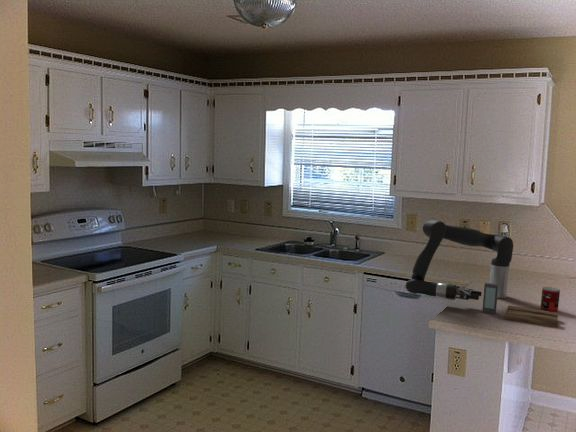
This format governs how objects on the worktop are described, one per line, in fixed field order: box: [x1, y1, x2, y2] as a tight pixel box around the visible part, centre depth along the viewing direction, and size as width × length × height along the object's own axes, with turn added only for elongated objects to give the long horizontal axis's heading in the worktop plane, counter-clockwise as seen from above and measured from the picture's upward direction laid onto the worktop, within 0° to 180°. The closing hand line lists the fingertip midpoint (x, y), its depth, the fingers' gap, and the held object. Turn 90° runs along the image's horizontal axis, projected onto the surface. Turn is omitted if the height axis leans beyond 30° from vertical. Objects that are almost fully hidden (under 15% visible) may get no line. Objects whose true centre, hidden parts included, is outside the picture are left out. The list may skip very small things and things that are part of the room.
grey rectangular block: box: [481, 282, 498, 315], centre depth 277 cm, size 3×6×14 cm, turn 64°
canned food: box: [540, 286, 561, 313], centre depth 287 cm, size 8×8×11 cm
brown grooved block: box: [504, 305, 559, 328], centre depth 268 cm, size 13×22×4 cm, turn 64°
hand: (480, 295), depth 279 cm, fingers open, 8 cm apart
